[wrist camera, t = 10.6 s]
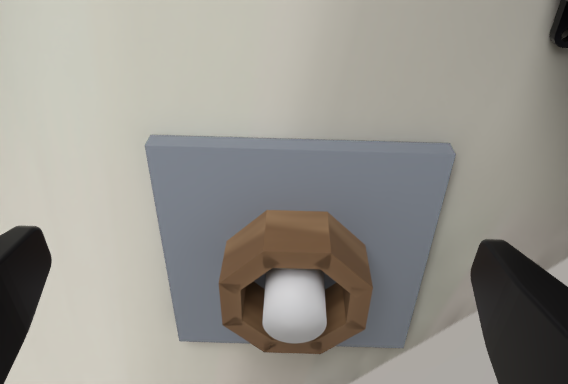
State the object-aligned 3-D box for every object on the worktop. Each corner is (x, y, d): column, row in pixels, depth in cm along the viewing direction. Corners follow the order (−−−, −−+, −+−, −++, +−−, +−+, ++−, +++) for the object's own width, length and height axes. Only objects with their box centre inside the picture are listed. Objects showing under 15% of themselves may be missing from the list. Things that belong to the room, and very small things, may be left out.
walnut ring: (370, 212, 23) (379, 254, 20) (354, 310, 27) (360, 354, 24) (224, 208, 23) (215, 250, 20) (231, 307, 27) (224, 351, 25)
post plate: (449, 143, 22) (485, 208, 17) (400, 334, 30) (416, 409, 26) (150, 135, 22) (116, 197, 18) (182, 328, 30) (164, 401, 26)
